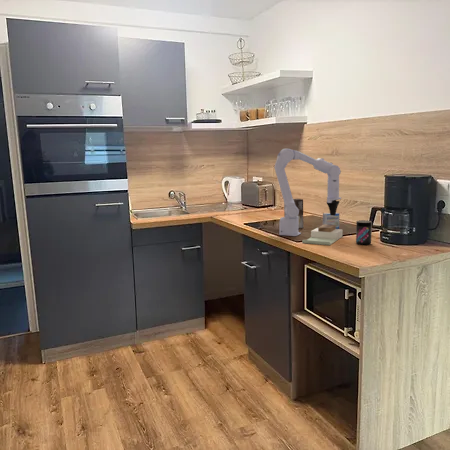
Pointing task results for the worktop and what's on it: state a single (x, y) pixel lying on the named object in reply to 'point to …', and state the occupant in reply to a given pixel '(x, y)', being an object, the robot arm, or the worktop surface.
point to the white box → (327, 234)
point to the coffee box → (300, 206)
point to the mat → (319, 241)
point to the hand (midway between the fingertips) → (332, 215)
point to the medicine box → (331, 219)
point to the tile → (326, 228)
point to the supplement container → (363, 232)
